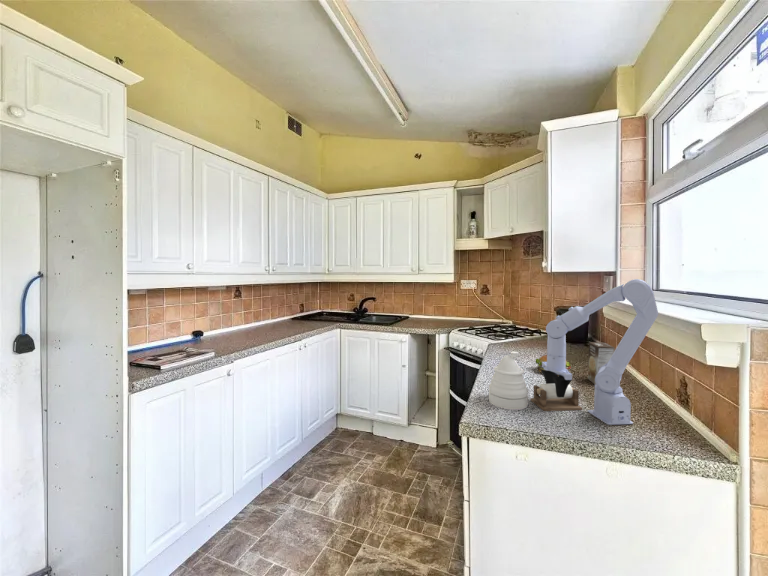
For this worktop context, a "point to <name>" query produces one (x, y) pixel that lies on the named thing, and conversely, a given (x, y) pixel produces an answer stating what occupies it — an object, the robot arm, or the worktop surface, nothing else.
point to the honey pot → (508, 385)
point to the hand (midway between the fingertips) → (555, 393)
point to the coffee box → (598, 357)
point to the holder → (556, 401)
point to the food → (544, 359)
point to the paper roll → (554, 391)
